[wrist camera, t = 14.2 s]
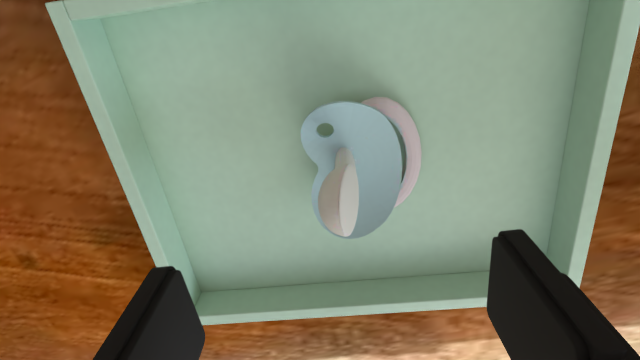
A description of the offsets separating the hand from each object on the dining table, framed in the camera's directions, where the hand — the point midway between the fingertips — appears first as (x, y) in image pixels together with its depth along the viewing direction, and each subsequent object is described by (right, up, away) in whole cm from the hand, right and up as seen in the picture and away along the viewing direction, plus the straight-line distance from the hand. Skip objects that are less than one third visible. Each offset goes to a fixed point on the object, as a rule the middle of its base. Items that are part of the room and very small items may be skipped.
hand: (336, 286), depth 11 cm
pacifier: (+2, +5, +9) cm, 10 cm away
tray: (+1, +5, +9) cm, 11 cm away
